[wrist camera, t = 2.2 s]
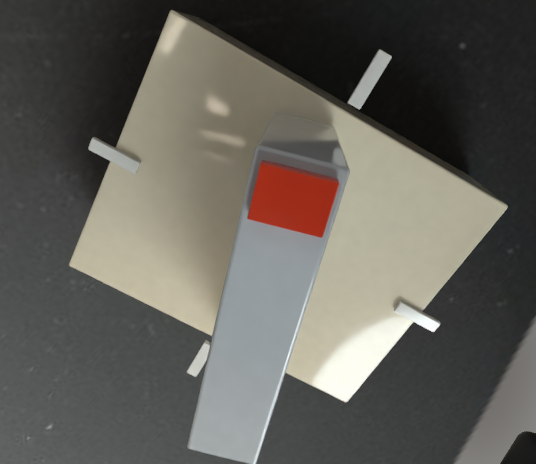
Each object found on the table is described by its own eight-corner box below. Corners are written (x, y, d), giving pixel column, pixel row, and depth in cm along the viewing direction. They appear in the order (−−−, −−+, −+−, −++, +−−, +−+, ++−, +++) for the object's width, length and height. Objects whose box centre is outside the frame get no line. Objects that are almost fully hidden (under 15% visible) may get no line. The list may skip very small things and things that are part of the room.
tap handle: (271, 343, 14) (254, 476, 10) (222, 331, 14) (183, 459, 10) (335, 125, 11) (353, 173, 7) (274, 109, 11) (253, 146, 7)
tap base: (519, 143, 14) (575, 168, 11) (332, 381, 18) (336, 444, 15) (203, -49, 13) (172, -78, 10) (79, 255, 17) (31, 298, 14)
